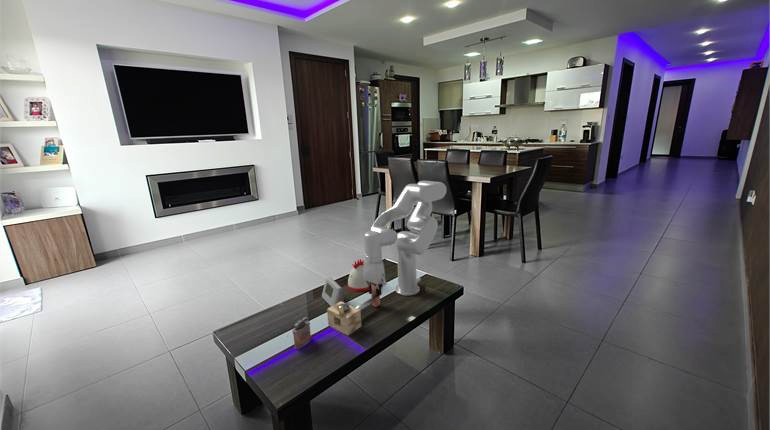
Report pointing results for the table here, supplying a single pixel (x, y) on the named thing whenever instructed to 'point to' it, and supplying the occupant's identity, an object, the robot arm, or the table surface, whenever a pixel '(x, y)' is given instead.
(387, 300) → the table surface
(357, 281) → the kitchen timer
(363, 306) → the copper head hammer
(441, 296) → the table surface
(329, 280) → the digital clock
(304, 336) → the lighter
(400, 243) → the robot arm
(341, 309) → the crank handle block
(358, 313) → the beige block
